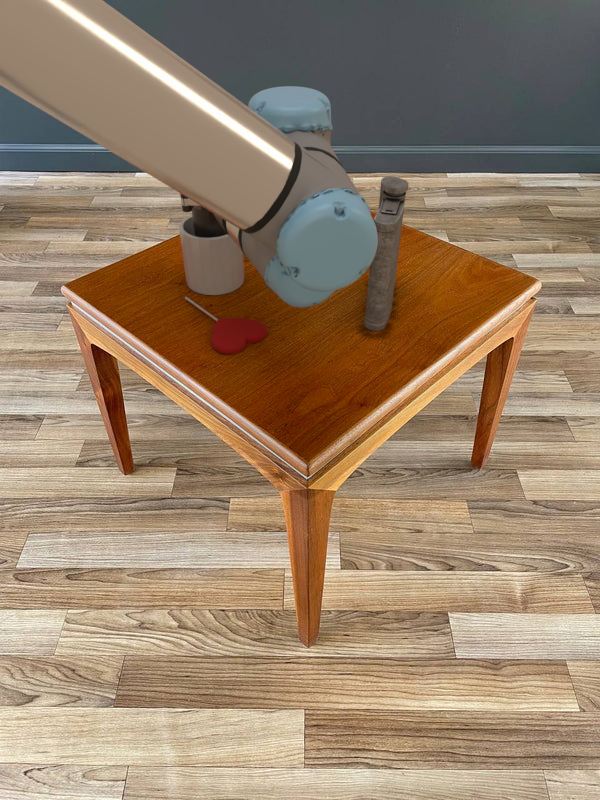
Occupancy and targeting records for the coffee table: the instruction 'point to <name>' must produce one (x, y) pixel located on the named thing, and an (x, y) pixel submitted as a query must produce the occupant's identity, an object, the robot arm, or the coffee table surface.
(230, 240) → the canister
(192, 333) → the coffee table surface
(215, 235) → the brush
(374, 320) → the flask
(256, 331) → the lollipop
